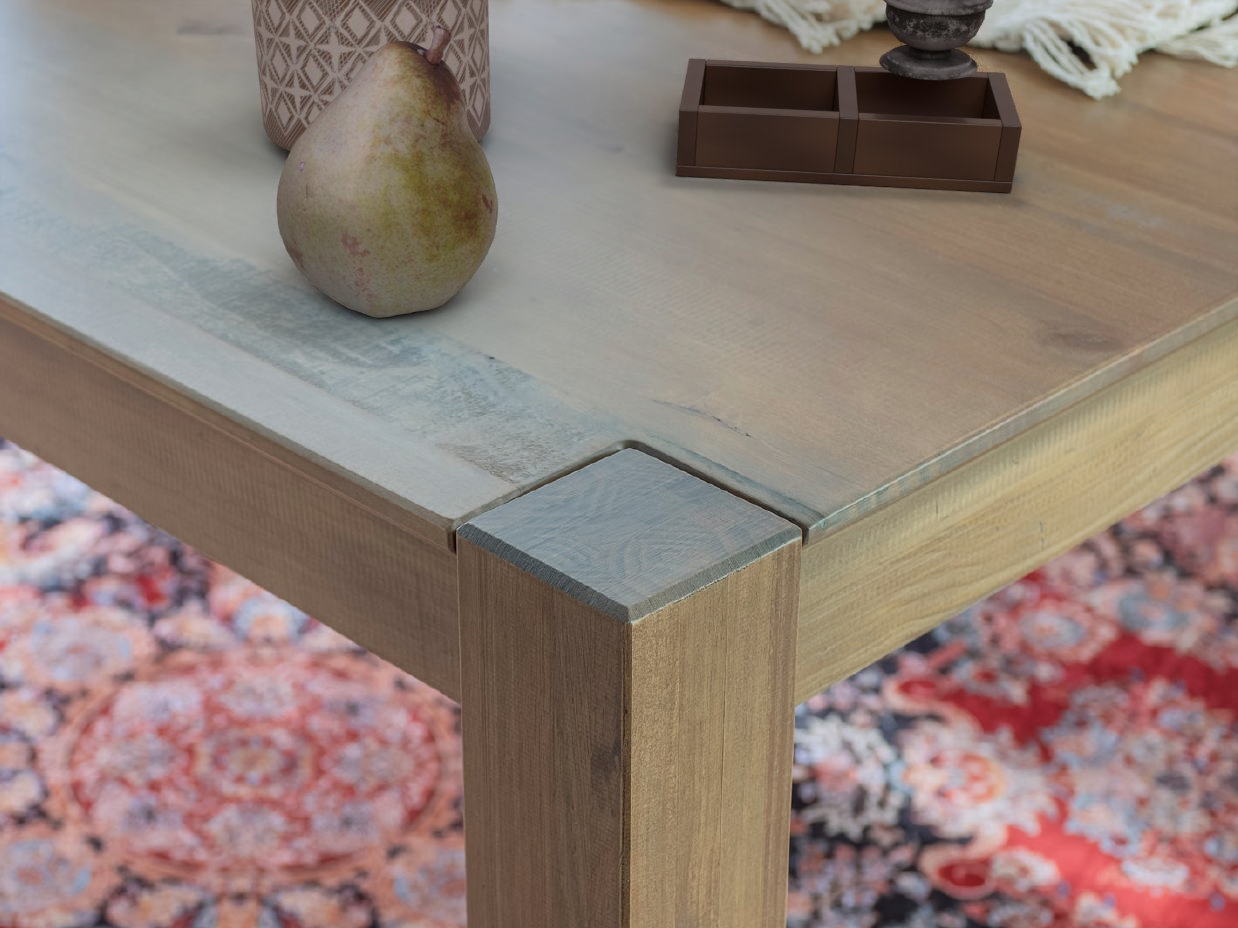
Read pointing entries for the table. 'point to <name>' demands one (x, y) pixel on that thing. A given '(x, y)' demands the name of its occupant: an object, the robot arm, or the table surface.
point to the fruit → (390, 187)
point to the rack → (846, 126)
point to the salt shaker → (933, 37)
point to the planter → (358, 53)
